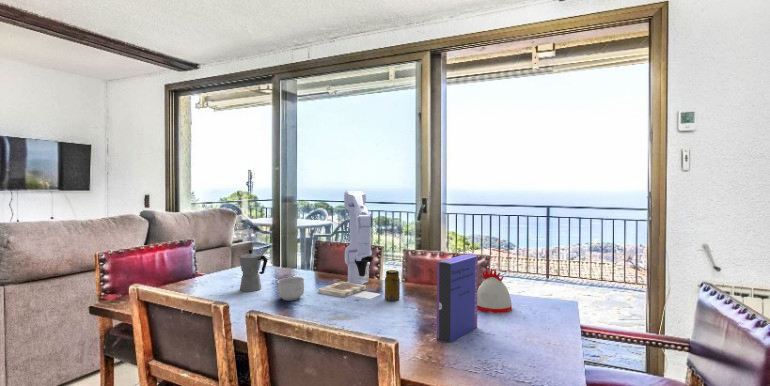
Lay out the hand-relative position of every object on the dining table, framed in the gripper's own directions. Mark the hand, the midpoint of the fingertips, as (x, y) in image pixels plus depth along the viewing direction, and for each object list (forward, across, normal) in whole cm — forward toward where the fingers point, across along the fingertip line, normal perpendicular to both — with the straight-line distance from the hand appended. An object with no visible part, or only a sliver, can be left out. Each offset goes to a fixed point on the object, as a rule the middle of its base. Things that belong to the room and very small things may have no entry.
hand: (364, 274), depth 175 cm
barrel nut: (+2, 0, 0) cm, 2 cm away
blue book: (+9, +33, +43) cm, 55 cm away
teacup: (+9, +12, -28) cm, 32 cm away
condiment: (+9, +4, +14) cm, 17 cm away
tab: (+9, 0, +2) cm, 9 cm away
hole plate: (+9, -3, -11) cm, 14 cm away
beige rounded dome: (+9, +2, +53) cm, 54 cm away
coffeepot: (+9, +5, -51) cm, 52 cm away
